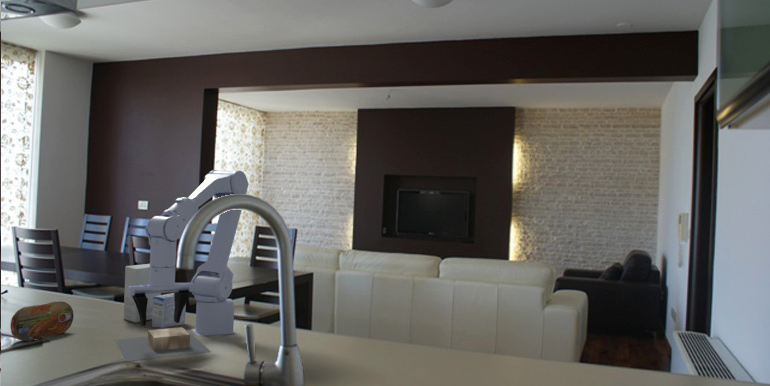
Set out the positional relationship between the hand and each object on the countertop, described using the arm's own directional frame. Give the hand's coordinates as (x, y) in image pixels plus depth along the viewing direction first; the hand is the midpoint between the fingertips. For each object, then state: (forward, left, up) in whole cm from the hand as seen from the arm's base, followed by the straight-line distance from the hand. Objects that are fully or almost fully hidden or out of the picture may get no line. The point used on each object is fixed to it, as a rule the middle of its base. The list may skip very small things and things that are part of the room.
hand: (160, 323), depth 133 cm
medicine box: (-6, -22, -6) cm, 24 cm away
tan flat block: (+2, 0, -4) cm, 4 cm away
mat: (0, 0, -6) cm, 6 cm away
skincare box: (-1, -34, -6) cm, 35 cm away
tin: (+24, -22, -6) cm, 33 cm away
